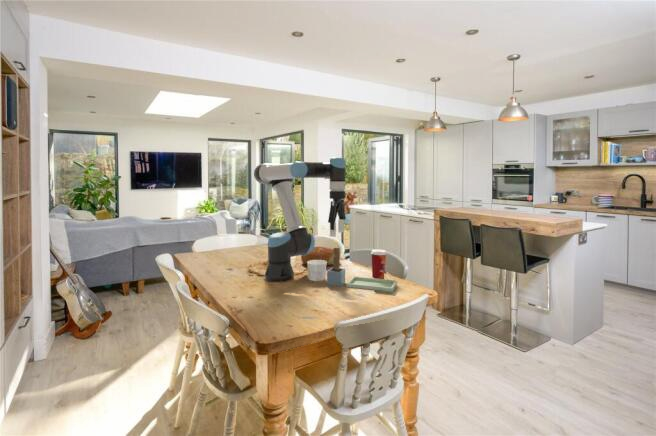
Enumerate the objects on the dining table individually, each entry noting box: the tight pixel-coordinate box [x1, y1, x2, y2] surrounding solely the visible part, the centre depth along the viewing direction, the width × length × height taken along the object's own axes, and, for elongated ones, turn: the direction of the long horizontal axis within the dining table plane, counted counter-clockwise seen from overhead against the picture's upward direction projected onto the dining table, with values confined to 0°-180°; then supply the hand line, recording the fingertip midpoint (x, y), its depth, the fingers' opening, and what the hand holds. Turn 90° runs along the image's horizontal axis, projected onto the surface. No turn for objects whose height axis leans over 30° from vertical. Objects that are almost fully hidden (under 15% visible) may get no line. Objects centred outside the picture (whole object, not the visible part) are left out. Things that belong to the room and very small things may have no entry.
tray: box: [345, 276, 398, 294], centre depth 191 cm, size 22×14×2 cm, turn 72°
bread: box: [300, 246, 334, 267], centre depth 239 cm, size 23×23×10 cm
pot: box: [326, 267, 346, 287], centre depth 192 cm, size 7×7×8 cm
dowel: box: [332, 246, 341, 272], centre depth 192 cm, size 3×3×18 cm
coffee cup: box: [370, 248, 388, 279], centre depth 206 cm, size 8×8×15 cm
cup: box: [306, 260, 327, 282], centre depth 201 cm, size 10×10×10 cm
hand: (337, 234), depth 190 cm, fingers open, 13 cm apart
